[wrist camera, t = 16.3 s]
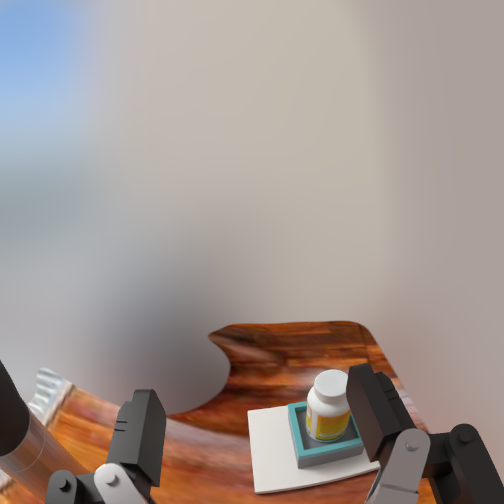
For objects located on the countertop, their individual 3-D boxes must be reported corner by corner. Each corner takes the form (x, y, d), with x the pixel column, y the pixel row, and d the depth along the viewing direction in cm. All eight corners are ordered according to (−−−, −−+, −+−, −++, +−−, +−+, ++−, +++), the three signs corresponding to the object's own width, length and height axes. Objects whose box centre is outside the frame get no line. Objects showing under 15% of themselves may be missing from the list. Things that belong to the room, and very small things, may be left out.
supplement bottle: (297, 428, 34) (297, 383, 30) (325, 405, 37) (329, 358, 33) (327, 451, 30) (335, 409, 26) (355, 424, 33) (366, 379, 29)
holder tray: (255, 494, 28) (251, 481, 26) (248, 414, 41) (244, 395, 39) (404, 459, 29) (415, 443, 27) (373, 390, 42) (378, 370, 40)
